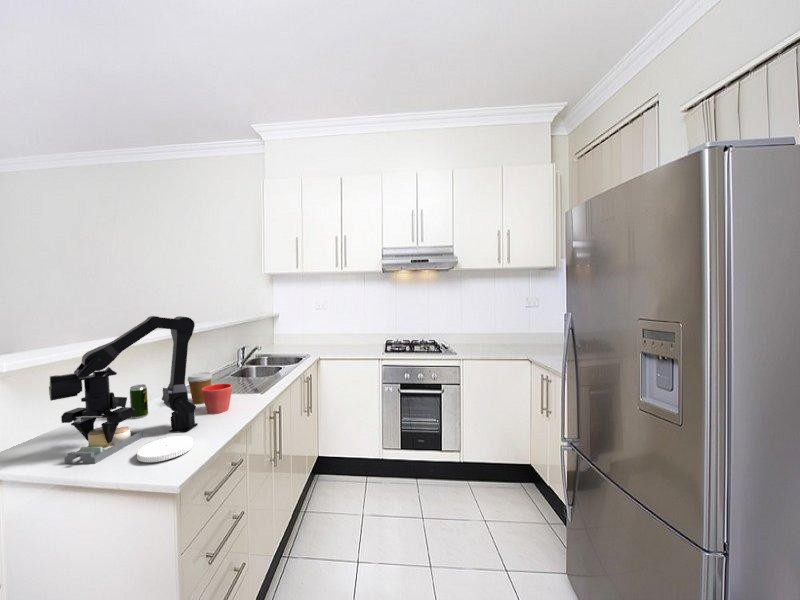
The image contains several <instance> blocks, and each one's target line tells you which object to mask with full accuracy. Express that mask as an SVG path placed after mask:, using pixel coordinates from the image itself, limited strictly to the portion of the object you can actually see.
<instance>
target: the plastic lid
mask: <svg viewBox="0 0 800 600" xmlns="http://www.w3.org/2000/svg"><path fill="white" fill-rule="evenodd" d="M193 446H194V440H193V438H192V437H191V436H187V435H176V436H168V437H164V438H160V439H156V440H154V441H151V442H149V443H146V444H144V445H142V446H141V447H140V448H139V449H138V450H137V451H136V457H137V460H138V462H139V461H140V462H142V463H157V462H162V461H167V460H170V459H174V458H177V457H179V456H182V455H184V454H186V453H188V452H189V451H190V450H191V449H192V448H193Z"/></svg>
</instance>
